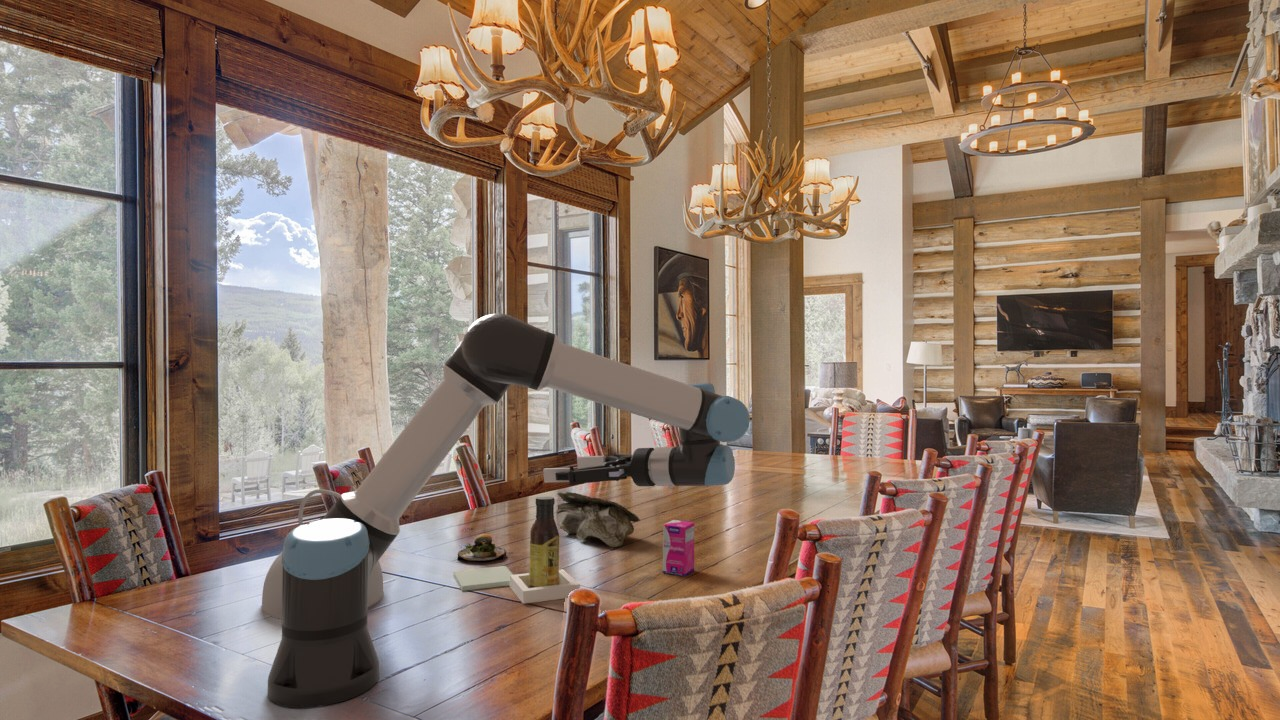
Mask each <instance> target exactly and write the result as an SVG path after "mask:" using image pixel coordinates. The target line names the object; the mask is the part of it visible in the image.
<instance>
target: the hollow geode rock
mask: <svg viewBox="0 0 1280 720" xmlns="http://www.w3.org/2000/svg"><path fill="white" fill-rule="evenodd" d="M557 495H558V497H560V499H562V501H563V502H564V503H561V504H558V505H557V509H556V512H555V513H556V514H555V516H556V521H557V525H558V527H559V529H560V530H562V531H563V532H565V533H566V534H567V535H572V534H573V535H576V538H578V539H579V540H585V539H588V540H591V539H592V538H593V537H595V538H598V539H599V540H601V541H602V542H603V543H605V544H606V545H607V546H608V547H610V548H618V547H621V546H622V545H623V544H624V540H625V539H627V537H628V536H630V535H632V534H633V533H634V531H635V527H634V525H633V524H632V522H633V523H637V522H640V521H641V519H640V518H639V516H638V515H636V514H635V513H634V512H632V511H630V510H628V508H626V507H625V506H622V505H621V504H619V503H618V502H615V501H611V500H607V499H602V498H599V497H591V496H588V495H583V494H580V493H577V492H570V491H567V492H564V493H563V492H558V493H557Z"/></svg>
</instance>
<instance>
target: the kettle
mask: <svg viewBox="0 0 1280 720" xmlns="http://www.w3.org/2000/svg"><path fill="white" fill-rule="evenodd" d="M317 494H325V495H329V496H331V497H336V498H337V499H339V497H340V496H341V495H342V494H340V493H339V492H336V491H333V490H330V489H323V488H321V489H320V488H319V489H314V490H310V492H307V494H306V495H305V496H304V497H303V499H302V500H301V503H300V505H299V509H298V517H297V518H298V526H300V525H303V524H304V523H303V521H304V520H303V516H304V508H305V505H306V504H307V502H308V500H309V499H310V498H311V497H312V496H314V495H317ZM324 517H325V515H324V516H322V517H320V518H319V520H322V519H323V518H324ZM281 555H282V551H281V552H280V553H279V554H278V555H277V557H276V558H275V559H274V561H273V562H272V564H271V565H270V567H269V569H268V571H267V573H266V576H265V579H264V581H263V582H264V583H263V585H262V586H263V587H262V595H261V596H262V597H261V608H260V609H261V612H262V613H263V614H265V615H266V616H269V617H271V618H276V619H281V620H282V577H283V565H282V557H281ZM383 575H384V574H383V571H382V565H381V563H380V559H379V560H378V562H377V563H376V565H375V566H374V567H373V569H372V571H371V574H370V576H369V578H368V599H367V608H369V607H371V606H374V605H375V604H377V603H378V602H380V601H381V600H382V598H383V597H384V594H385V593H384V578H383V577H384V576H383Z"/></svg>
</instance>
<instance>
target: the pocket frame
mask: <svg viewBox="0 0 1280 720" xmlns="http://www.w3.org/2000/svg"><path fill="white" fill-rule="evenodd" d="M509 588H510V589H511V590H512V592H513V593H514V594H515V595H516V597H517V599H519V600H520V602H521V603H522V604H523V605H525V604H531V603H539V602H540V603H541V602H545V601H546V602H548V601H554V600H555V601H556V600H561V599H569V598H568V595H569V593H570V592H571V591H573V590H575V589H579V588H580V589H581V584H580V583H579V582H578V581H577V580H576V579H575V578H573V577H572V576H571V575H570V573H567V572H566V571H565V570H564V569H563V568H561V569H559V583H558V585H552V586H543V587H535V588H530V584H529V572H525V573H519V574H518V573H516V574H513V575H510V585H509Z"/></svg>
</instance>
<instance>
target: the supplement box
mask: <svg viewBox="0 0 1280 720" xmlns="http://www.w3.org/2000/svg"><path fill="white" fill-rule="evenodd" d="M662 530H663V531H662V573H664V574H670V575H676V576H680V577H686V576H687V575H689V574H691V573H693V572H694V571H695V522H693V521H686V520H677V519H672V520H670V521H668V522H666V523H664V524H663V525H662Z"/></svg>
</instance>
